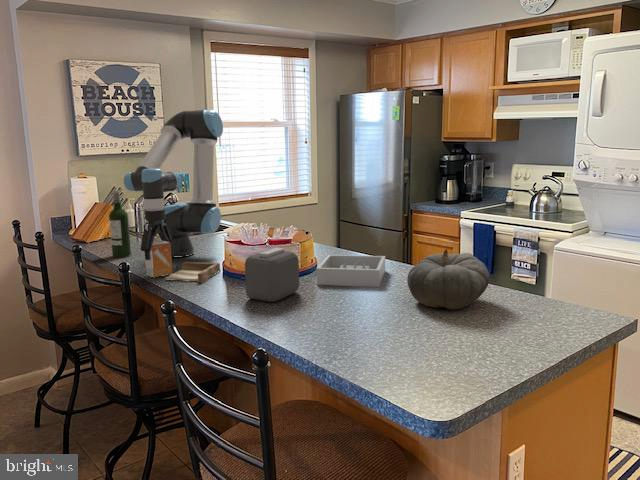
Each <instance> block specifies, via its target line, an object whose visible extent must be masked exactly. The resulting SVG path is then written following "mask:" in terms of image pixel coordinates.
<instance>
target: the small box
mask: <svg viewBox="0 0 640 480" xmlns="http://www.w3.org/2000/svg"><path fill="white" fill-rule="evenodd" d="M151 251H152V256H153V268H146V267H145V273H146V276H147V275H149V276H152V277H157V276H161V275H166V274H171V273H172V274H173V262H172V258H171V245H170V242H166V241H162V240H160V241H153V244H152V247H151Z"/></svg>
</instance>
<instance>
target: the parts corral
mask: <svg viewBox="0 0 640 480" xmlns="http://www.w3.org/2000/svg"><path fill="white" fill-rule="evenodd" d="M344 263H346V265H353V266H354V264H355V265H356V266H363V264H365V266H369V269H348V268H340V266H341V265H344ZM341 267H342V266H341ZM367 268H368V267H367ZM315 271H316V274H315V275H316V285H317V286H346V287H348V286H349V287H366V288H367V287H370V288H372V287H373V288H380V286H381V283H382V281H383V278H384V276H385V273H386V255H357V254H356V255H355V254H353V255H352V254H351V255H349V254H348V255H347V254H327V256H325V258H324V259H323V260H322V261H321V263H320V264H318V266H317V267H316V269H315Z"/></svg>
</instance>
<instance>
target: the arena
mask: <svg viewBox="0 0 640 480" xmlns="http://www.w3.org/2000/svg"><path fill="white" fill-rule="evenodd" d="M180 265H181V269H179V270H177V271H176V272H174V273H172V275H169V276H165V277H164V280H165V279H175V280H189V281H188V282H190V281H198V282H203V283H205V282H206V281H205V280H207V279H208V278H210V277H211V276H212V275H214V274H215V273H217V272H218V271H220V272H221V266H220V265H221V264H220V263H219V262H199V261H198V262H194V261H193V262H190V261H183V262H181V264H180ZM217 274H218V273H217ZM214 276H215V275H214ZM211 278H212V277H211ZM211 278H210V279H211ZM208 280H209V279H208ZM208 280H207V281H208ZM204 281H205V282H204ZM198 282H197V283H198Z"/></svg>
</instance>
